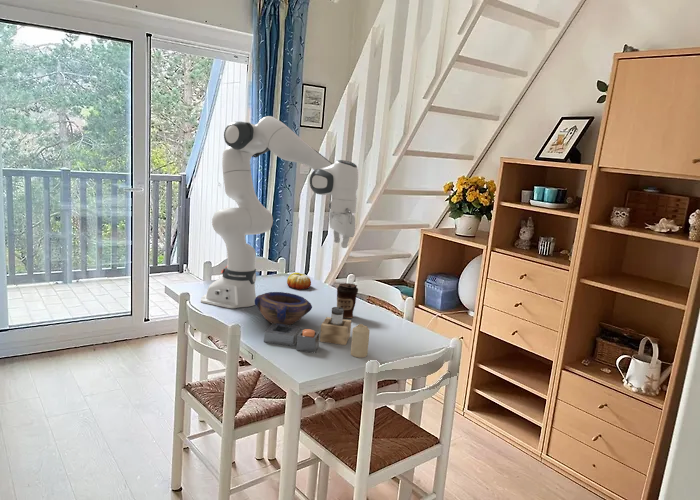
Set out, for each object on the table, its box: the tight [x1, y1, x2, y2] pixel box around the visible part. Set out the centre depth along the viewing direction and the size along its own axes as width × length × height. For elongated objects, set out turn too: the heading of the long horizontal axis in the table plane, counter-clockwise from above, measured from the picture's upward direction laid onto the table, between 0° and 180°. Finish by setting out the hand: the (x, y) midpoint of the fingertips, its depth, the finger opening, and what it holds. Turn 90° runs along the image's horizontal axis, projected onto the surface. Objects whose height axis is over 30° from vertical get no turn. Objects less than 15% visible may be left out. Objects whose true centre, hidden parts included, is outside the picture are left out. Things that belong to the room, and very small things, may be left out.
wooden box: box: [319, 316, 352, 346], centre depth 185 cm, size 9×9×6 cm
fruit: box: [286, 272, 312, 291], centre depth 247 cm, size 11×10×8 cm
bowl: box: [254, 291, 313, 325], centre depth 197 cm, size 18×18×10 cm
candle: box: [350, 323, 370, 359], centre depth 172 cm, size 6×6×10 cm
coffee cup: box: [336, 282, 359, 319], centre depth 209 cm, size 9×8×13 cm
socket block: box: [263, 323, 302, 347], centre depth 181 cm, size 10×10×4 cm
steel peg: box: [330, 306, 344, 326], centre depth 184 cm, size 4×4×11 cm
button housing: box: [296, 329, 321, 354], centre depth 174 cm, size 6×6×5 cm
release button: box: [302, 328, 316, 337], centre depth 174 cm, size 4×4×4 cm
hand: (340, 245), depth 191 cm, fingers open, 8 cm apart
